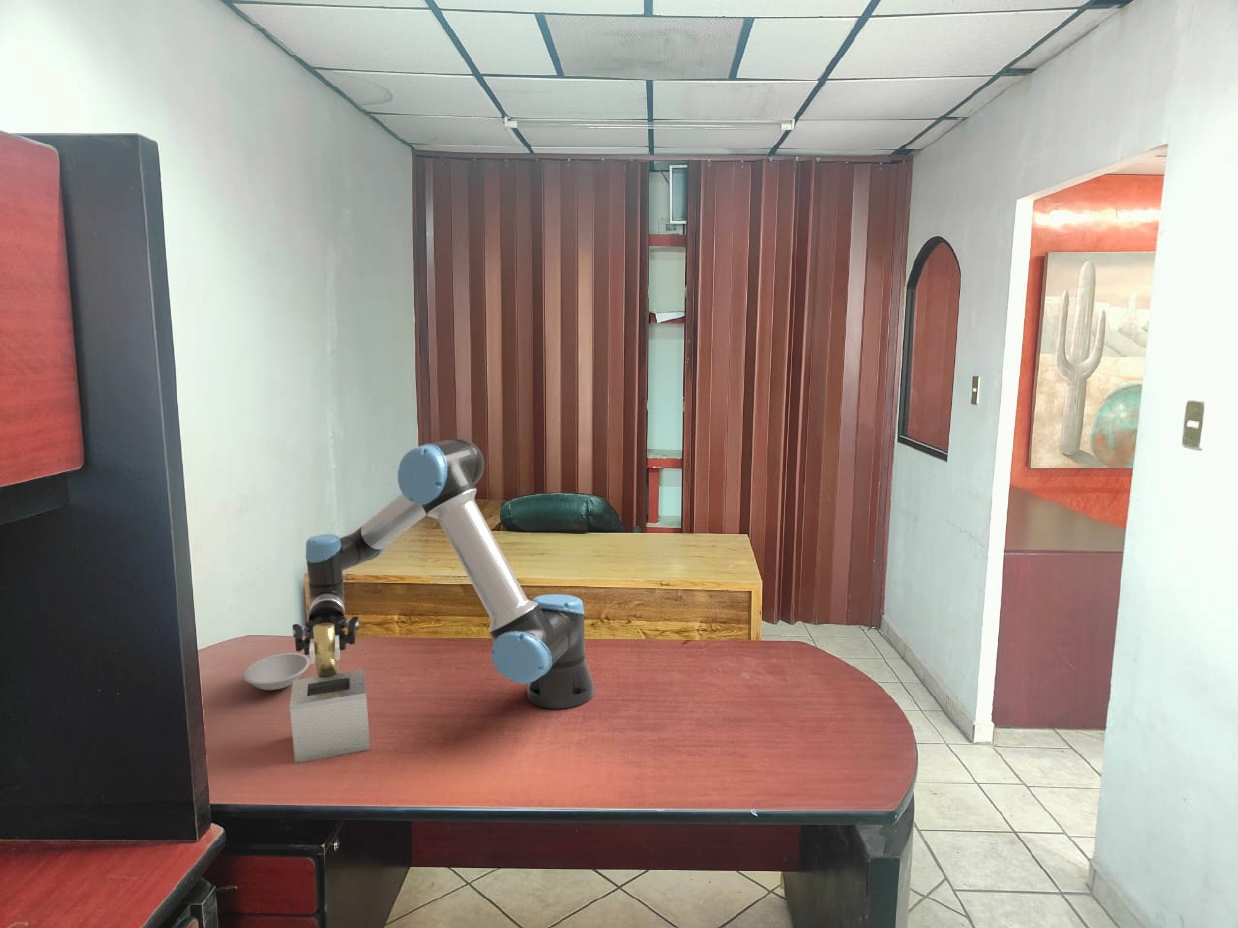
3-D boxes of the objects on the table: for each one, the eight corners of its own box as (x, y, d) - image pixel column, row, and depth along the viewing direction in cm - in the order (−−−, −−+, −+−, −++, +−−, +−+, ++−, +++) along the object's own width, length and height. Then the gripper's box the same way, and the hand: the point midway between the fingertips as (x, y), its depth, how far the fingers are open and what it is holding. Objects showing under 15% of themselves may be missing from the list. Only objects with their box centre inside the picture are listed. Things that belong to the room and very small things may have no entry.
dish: (257, 674, 193) (255, 655, 193) (317, 669, 196) (316, 650, 195) (235, 707, 176) (233, 686, 175) (302, 700, 179) (300, 680, 178)
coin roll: (341, 669, 160) (337, 622, 158) (332, 677, 156) (328, 630, 154) (322, 669, 160) (318, 622, 158) (313, 677, 156) (309, 629, 154)
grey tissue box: (368, 722, 168) (364, 669, 166) (370, 749, 157) (366, 693, 155) (298, 734, 163) (293, 680, 161) (295, 763, 152) (289, 705, 150)
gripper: (368, 626, 177) (371, 666, 155) (286, 637, 171) (278, 680, 150) (365, 594, 176) (369, 630, 154) (283, 604, 170) (275, 643, 148)
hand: (324, 655), depth 152 cm, fingers closed on coin roll, 4 cm apart
